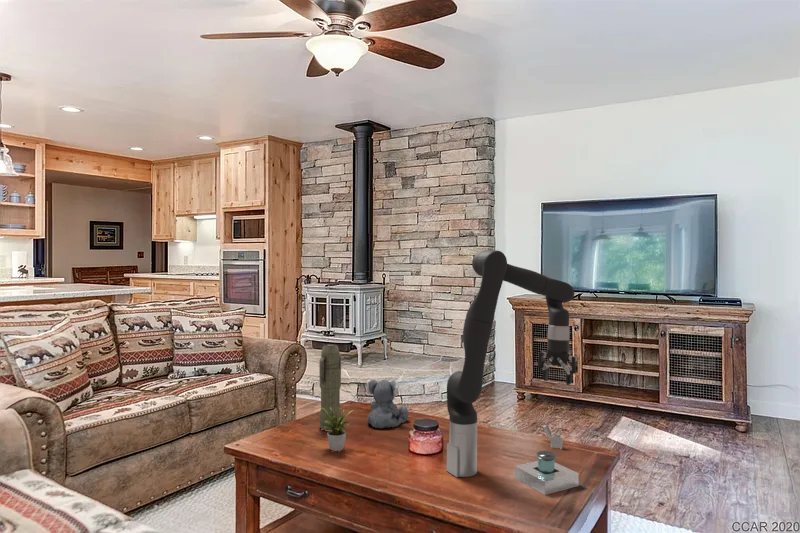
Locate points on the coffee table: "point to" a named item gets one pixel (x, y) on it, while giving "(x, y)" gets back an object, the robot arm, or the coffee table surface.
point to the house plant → (336, 430)
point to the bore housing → (546, 478)
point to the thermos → (330, 383)
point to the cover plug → (546, 462)
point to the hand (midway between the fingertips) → (557, 382)
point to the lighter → (554, 438)
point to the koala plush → (385, 404)
